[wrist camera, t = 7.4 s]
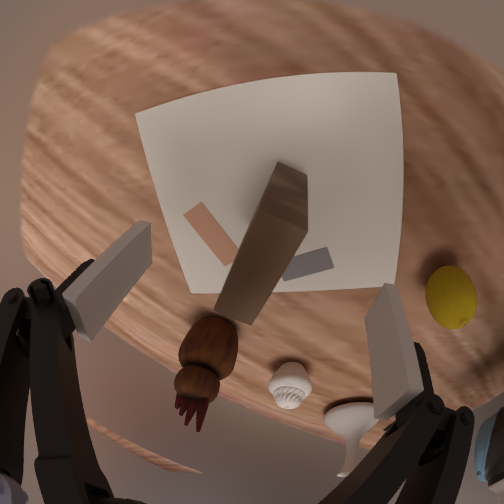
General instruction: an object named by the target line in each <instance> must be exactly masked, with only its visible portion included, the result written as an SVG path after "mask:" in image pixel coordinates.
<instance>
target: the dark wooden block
mask: <svg viewBox="0 0 504 504" xmlns="http://www.w3.org/2000/svg"><path fill="white" fill-rule="evenodd" d="M307 233H308V178H307V175H306V174H304V173H302V172H300V171H298V170H296V169H294V168H291V167H289V166H287V165H285V164H283V163H280V162H277V164H276V166H275V168H274V171H273V173H272V175H271V177H270V179H269V182H268V184H267V186H266V188H265V191H264V193H263V195H262V197H261V199H260V202H259V204H258V206H257V208H256V211H255V213H254V215H253V217H252V219H251V222H250V224H249V226H248V228H247V231H246V233H245V235H244V238H243V240H242V242H241V245H240V247H239V249H238V252H237V254H236V257H235V259H234V261H233V264H232V266H231V269H230V271H229V273H228V276H227V278H226V281H225V283H224V285H223V288H222V290H221V293H220V295H219V298H218V300H217V302H216V305H215V307H214V311H217V312H219V313H221V314H224V315H226V316H228V317H231V318H233V319H236V320H238V321H241V322H243V323H246V324H248V325H252V323H253V322H254V320H255V319H256V317H257V315H258V314H259V312H260V311H261V309H262V308H263V306H264V304H265V303H266V301H267V299H268V298H269V296H270V295H271V293H272V291H273V290H274V288H275V286H276V285H277V283H278V281H279V280H280V278H281V277H282V275H283V273H284V272H285V270H286V268H287V267H288V265H289V263H290V262H291V260H292V258H293V256H294V255H295V253H296V251H297V250H298V248H299V246H300V245H301V243H302V241H303V239H304V238H305V236H306V234H307Z"/></svg>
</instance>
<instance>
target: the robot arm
mask: <svg viewBox="0 0 504 504" xmlns="http://www.w3.org/2000/svg"><path fill="white" fill-rule="evenodd" d="M151 264H152V249H151V223H148V222H144V221H140V220H139V221H138V222H137V223H135V224H134V225H133V226H132V227H131V228H130V229H129V230H127V231H126V232H125V233H124V234H123V235H122V236H121V237H120V238H118V239H117V240H116V241H115V242H114V243H113V244H112V245H111V246H110V247H109V248H108V249H106V250H105V251H104V252H103V253H102V254H101V255H100V256H99V257H98V258H97V259H96V260H94V259H90V260H88V261H86V262H84V263H82V264H81V265H80V266H79V267H78V268H77V269H76V271H74V272H73V273H72V274H71V276H69V277H68V278H67V279H66V280H65V281H64V282H63V283H62V284H61V285H60V286H59V287H58V288H57V289H56V290H54V288H53V285H52V282H51V281H50V280H49V279H46V278H40V279H37V280H35V281H33V282H32V283H31V284H30V285H29V286H28V289H27V292H28V294H29V296H30V297H25V295H24V292H23V291H22V290H21V289H20V288H13V289H11V290H9V291H8V292H7V293H5V295H4V296H3V299H2V301H1V303H0V504H25V503H27V502H28V500H29V499H28V495H27V494H26V492H25V491H23V490H22V488H21V484H22V477H23V463H24V432H25V419H26V410H27V402H28V395H29V388H30V390H31V404H32V414H33V422H34V429H35V435H36V441H37V446H38V453H39V455H38V457H37V458H36V460H35V463H34V466H35V472H36V476H37V480H38V483H39V487H40V490H41V494H42V497H43V500H44V503H45V504H146V503H143V502H141V501H136V500H132V499H122V498H114V495H113V493H112V490H111V488H110V485H109V483H108V481H107V479H106V477H105V476H104V474H103V473H102V471H101V469H100V467H99V465H98V461H97V458H96V455H95V452H94V448H93V445H92V441H91V438H90V435H89V430H88V426H87V422H86V418H85V413H84V409H83V404H82V398H81V393H80V387H79V381H78V374H77V368H76V359H75V349H74V338H73V334H72V332H73V331H74V330H75V328H76V330H77V333H78V335H79V336H80V337H82V338H83V339H85V340H87V341H89V342H92V340H93V339H94V338H95V336H96V335H97V333H98V332H99V330H100V329H101V328H102V327H103V325H104V324H105V322H106V321H107V320H108V318H109V317H110V316H111V314H112V313H113V312H114V310H115V309H116V308H117V307H118V305H119V304H120V303H121V301H122V300H123V299H124V297H125V296H126V295H127V294H128V292H129V291H130V290H131V289H132V287H133V286H134V285H135V283H136V282H137V281H138V280H139V279H140V277H141V276H142V275H143V274H144V272H145V271H146V270H147V269H148V267H149V266H150V265H151ZM365 324H366V332H367V339H368V347H369V356H370V366H371V376H372V389H373V404H374V419H387V420H388V419H389V418H391V417H392V416H393V415H396V421H394V422H393V423H392V424H390V425H389V426H387V427H386V428H385V429H384V431H386V430H387V429H388V430H387V431H386V432H385V433H384V435H383V436H382V437H381V439H380V440H379V441H378V442H377V443H376V445H375V446H374V447H373V448H372V449H371V451H370V452H369V453H368V454H367V455H366V457H365V458H364V459H363V460H362V461H361V462H360V463H359V464H358V465H357V466H356V467H355V469H354V470H353V471H352V472H351V473H350V474H349V475H348V476H347V477H346V478H345V479H344V480H343V481H342V482H341V483H340V484H339V485H338V486H337V487H336V488H335V489H334V490H333V491H332V492H330V493H329V494H328V495H327V496H326V497H325V498H324V499H323V500H322V501H320V502H319V503H318V504H387V503H388V502H389V501H390V500H391V498H392V497H393V496H394V494H395V493H396V492H397V490H398V489H399V487H400V486H401V485H402V484H403V482H404V481H405V480H406V482H405V484H404V486H403V488H402V490H401V492H400V494H399V497H398V499H397V501H396V503H395V504H455V501H456V498H457V495H458V492H459V489H460V486H461V482H462V479H463V476H464V472H465V468H466V464H467V460H468V455H469V451H470V446H471V440H472V434H473V429H474V414H473V412H472V411H471V409H469V408H468V407H466V406H462V407H460V408H459V409H457V410H456V411H454V410H452V409H449V408H446V407H445V405H444V403H443V400H442V399H441V398H440V397H439V396H437V395H436V394H434V391H433V386H432V381H431V377H430V372H429V369H428V364H427V362H426V356H425V352H424V350H423V349H422V347H421V345H420V344H419V343H416V342H413V339H412V335H411V332H410V328H409V324H408V321H407V318H406V314H405V311H404V308H403V304H402V301H401V298H400V295H399V292H398V289H397V286H396V285H393V284H389V283H384V285H383V286H382V288H381V290H380V292H379V294H378V295H377V297H376V299H375V301H374V302H373V304H372V306H371V308H370V309H369V311H368V313H367V314H366V316H365ZM17 330H18V331H17ZM16 333H17V334H16ZM474 458H475V459H474V460H475V461H474V462H475V470H476V471H477V477H478V479H479V480H480V481H481V482H487V481H488V488H489V489H490V490H492V491H494V492H496V493H497V504H504V407H501V408H500V409H499V410H498V411H497V412H496V413H495V414H493V415H492V416H491V417H489V418H488V419H486V420H485V421H484V422H483V423H482V425H481V426H480V428H479V431H478V434H477V437H476V442H475V452H474ZM406 478H407V479H406Z"/></svg>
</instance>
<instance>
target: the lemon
mask: <svg viewBox="0 0 504 504" xmlns="http://www.w3.org/2000/svg"><path fill="white" fill-rule="evenodd" d="M425 293H426V302H427V306H428V308H429V311H430V313H431V315H432V316H433V318H434V319H435V320H436V321H437V322H438V323H439V324H440V325H441V326H443V327H445V328H447V329H458V328H461V327H463V326H465V325H466V324H467V323H468V322H469V321H470V320H471V319H472V317H473V315H474V313H475V311H476V307H477V294H476V290H475V287H474V285H473V282H472V280H471V279H470V277H469V276H468V275H467V274H466V273H465V272H464V271H463V270H462V269H461V268H458V267H456V266H451V265H447V266H443V267H441V268H439V269H437V270H436V271H435V272H434V273H433V274H432V275H431V276H430V278H429V280H428V282H427V286H426V292H425Z"/></svg>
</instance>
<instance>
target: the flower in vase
mask: <svg viewBox="0 0 504 504" xmlns="http://www.w3.org/2000/svg"><path fill="white" fill-rule="evenodd" d="M323 420H324V423H325V425H326V426H328V427H329V428H330V429H331V430H333V431H334V432H336V433H338V434H339V435H341V436H342V437H343V438H344V439H345V440H346V444H347V451H346V452H347V453H346V459H345V463H344V466H343V468H342V469H341V471H340V472H339V473H338V475H337V476H340V477H347V476H348V475H349V474H350V473H351V472H352V471H353V470H354V469H355V467H356V466H357V465H358V464H359V463H360V458H359V442H360V439H361V437H362V436H363V434H365V433H366V432H367V431H368V430H369V429H370V428H372V427H373V426H374V425H375V424H376V423H377V422H378V421H379V419H374V404H373V403H370V402H352V403H347V404H342V405H339V406H336V407H334V408H332V409H330V410H329V411H327V412H326V414H325V415H324V417H323Z"/></svg>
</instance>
